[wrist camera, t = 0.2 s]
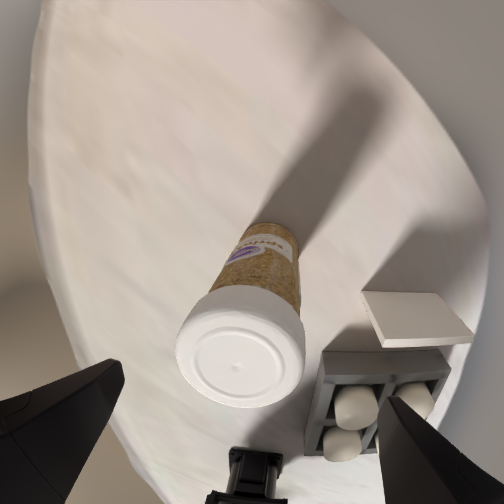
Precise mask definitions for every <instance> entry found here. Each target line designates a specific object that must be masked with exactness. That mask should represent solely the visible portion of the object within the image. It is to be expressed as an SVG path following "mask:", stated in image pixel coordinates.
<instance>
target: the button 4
mask: <svg viewBox="0 0 504 504" xmlns="http://www.w3.org/2000/svg"><path fill="white" fill-rule="evenodd" d="M392 396H399V397H400V398H401V399H402V400H403V401H404V402H405V403H407V404H408V405H409V406H410V407H411V408H412V409H413V410H414V411H415V412H417V413H418V414H419V415H420V416H421V417H422V418H423V419H425V418H427V417H428V416H429V415H430V414H431V412H432V411H433V409H434V405H435V404H434V401H433V399H432V397H431V394H430V392H429V390H428V388H427V386H426V384H425V383H424V382H423V381H413V382H407V383H404V384H403V385H401V386H400V387H398V388H397V389H396V390H395V391H394V393H393V394H392Z"/></svg>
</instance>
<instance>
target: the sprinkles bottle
mask: <svg viewBox="0 0 504 504" xmlns="http://www.w3.org/2000/svg"><path fill="white" fill-rule="evenodd" d="M298 252H299V250H298V245H297V242H296V239H295V238H294V236H293V235H292V234H291V233H290V231H288V230H287V229H286V228H284V227H282V226H281V225H278V224H275V223H259V224H256V225H254V226H252V227H250V228H249V229H248V230H247V231H246V232H245V233H244V234H243V235H242V237H241V239H240V240H239V243H238V245H237V246H236V247H235V249H234V250H233V252H232V253H231V255H230V256H229V258H228V260H227V261H226V263H225V264H224V266H223V269H222V271H221V273H220V274H219V276H218V277H217V279H216V281H215V283H214V284H213V286H212V287H211V289H210V290H209V293H208V294H207V295H205V296H204V297H203V298H202V299H200V300H199V301H198V302H197V303H196V305H195V306H194V308H193V309H192V310H191V312H190V313H189V315H188V316H187V318H186V320H185V321H184V323H183V325H182V327H181V328H180V330H179V333H178V335H177V338H176V345H175V353H176V359H177V363H178V365H179V368H180V370H181V372H182V374H183V375H184V377H185V378H186V380H187V381H188V382H189V383H190V384H191V385H192V386H193V387H194V388H195V389H196V390H197V391H199V392H200V393H201V394H203V395H204V396H206V397H208V398H209V399H212V400H214V401H216V402H218V403H221V404H224V405H228V406H233V407H239V408H255V407H262V406H266V405H270V404H272V403H275V402H277V401H279V400H281V399H283V398H284V397H286V396H287V395H288V394H290V393H291V392H292V391H293V390H294V388H295V387H296V386H297V385H298V383H299V381H300V380H301V377H302V375H303V372H304V368H305V355H306V352H305V331H304V327H303V324H302V322H301V320H300V306H301V288H300V272H299V261H298Z"/></svg>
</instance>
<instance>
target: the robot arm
mask: <svg viewBox="0 0 504 504" xmlns="http://www.w3.org/2000/svg"><path fill="white" fill-rule="evenodd" d="M124 382H125V377H124V373H123V369H122V364H121V362H120V361H118V360H115V359H111V358H110V359H107V360H105V361H102V362H100V363H98V364H95V365H93V366H90V367H88V368H86V369H83V370H81V371H79V372H76V373H74V374H71V375H69V376H66V377H64V378H62V379H59V380H57V381H54V382H52V383H50V384H47V385H44V386H42V387H39V388H37V389H34V390H32V391H29V392H26V393H24V394H21V395H18V396H15V397H12V398H9V399H6V400H2V401H0V504H65V501H66V499H67V497H68V495H69V493H70V491H71V489H72V487H73V486H74V483H75V482H76V480H77V478H78V476H79V474H80V472H81V470H82V468H83V466H84V464H85V463H86V461H87V459H88V457H89V455H90V453H91V451H92V450H93V448H94V446H95V444H96V442H97V440H98V439H99V437H100V435H101V433H102V431H103V429H104V428H105V426H106V424H107V422H108V420H109V418H110V417H111V414H112V412H113V410H114V407H115V405H116V402H117V400H118V398H119V395H120V393H121V390H122V388H123V386H124ZM377 423H378V443H379V458H380V465H381V472H382V479H383V486H384V494H385V503H386V504H504V484H502V483H501V482H499V481H498V480H497V479H495V478H494V477H492V476H491V475H489V474H488V473H486V472H485V471H483V470H482V469H481V468H479V467H478V466H477V465H476V464H474V463H473V462H472V461H471V460H470V459H468V458H467V457H466V456H465V455H464V454H463V453H460V451H459V450H458V449H457V448H456V447H455V446H454V445H452V444H451V443H450V442H449V441H448V440H447V439H446V438H445V437H443V436H442V435H441V434H440V433H439V432H438V431H437V430H436V429H434V428H433V427H432V426H431V425H430V424H429V423H428V422H427V421H425V420H424V419H423V418H422V417H421V416H420V415H419V414H418V413H417V412H415V411H414V410H413V409H412V408H411V407H410V406H409V405H408V404H407V403H405V402H404V401H403V400H402V399H401V398H400V397H399V396H387V397H386V398H385V399H384V401H383V404H382V406H381V408H380V410H379V412H378V416H377ZM282 461H283V455H281V454H272V453H260V452H250V451H242V450H234V449H231V450H229V467H230V477H229V481H228V485H227V490H226V493H222V492H217V491H214V490H212V492H211V494H209V495H207V498H206V502H205V504H288V499H274V498H275V489H276V479H278V478H279V475H280V470H281V465H282Z"/></svg>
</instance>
